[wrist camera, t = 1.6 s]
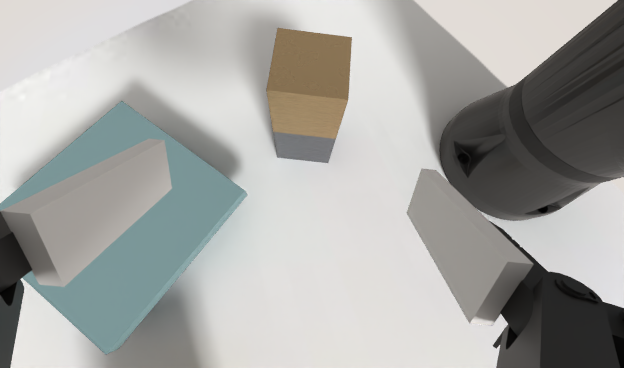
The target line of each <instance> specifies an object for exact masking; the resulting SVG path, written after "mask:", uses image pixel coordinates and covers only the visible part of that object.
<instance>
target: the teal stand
mask: <svg viewBox="0 0 624 368" xmlns="http://www.w3.org/2000/svg"><path fill="white" fill-rule="evenodd" d="M147 139H158V140H165V147H166V153H167V159H168V166H169V172H170V178H171V185H172V189H171V190H170V191H169V192H168V193H167V194H166V195H165V196H163V197H162V198H161V199H160V200H159V201H158V202H157V203H156V204H155V205H154V206H153V207H151V208H150V209H149V210H148V211H147V212H146V213H145V214H144V215H143V216H142V217H140V218H139V219H138V220H137V221H136V222H135V223H134V224H133V225H132V226H131V227H129V228H128V229H127V230H126V231H125V232H124V233H123V234H122V235H121V236H120V237H118V238H117V239H116V240H115V241H114V242H113V243H112V244H111V245H110V246H109V247H107V248H106V249H105V250H104V251H103V252H102V253H101V254H100V255H99V256H98V257H96V258H95V259H94V260H93V261H92V262H91V263H90V264H89V265H88V266H87V267H85V268H84V269H83V270H82V271H81V272H80V273H79V274H78V275H77V276H76V277H74V278H73V279H72V280H71V281H70V282H69V283H68V284H67V285H66V286H65V287H60V286H49V285H39V283H38V282H37V280H36V278H35V276H34V274H33V272H32V271H30V272H29V273H28V274H26V275H25V276H24V277H22V278H23V279H24V280H25V281H26V282H28V283H29V284H30V285H31V286H32V287H33V288H34V289H35V290H36V291H37V292H38V293H40V294H41V295H42V296H43V297H44V298H45V299H46V300H47V301H48V302H49V303H50V304H51V305H53V306H54V307H55V308H56V309H57V310H58V311H59V312H60V313H61V314H62V315H63V316H64V317H66V318H67V319H68V320H69V321H70V322H71V323H72V324H73V325H74V326H75V327H76V328H77V329H79V330H80V331H81V332H82V333H83V334H84V335H85V336H86V337H87V338H88V339H89V340H91V341H92V342H93V343H94V344H95V345H96V346H97V347H98V348H99V349H100V350H101V351H102V352H104V353H105V354H108V353H110V352H112V351H115V350H117V349H119V348H120V347H121V345H122V344H123V343H124V342H125V341H126V339H127V338H128V337H129V336H130V335H131V333H132V332H133V331H134V330H135V329H136V327H137V326H138V325H139V324H140V323H141V322H142V320H143V319H144V318H145V317H146V316H147V314H148V313H149V312H150V311H151V310H152V308H153V307H154V306H155V305H156V304H157V302H158V301H159V300H160V299H161V298H162V296H163V295H164V294H165V293H166V292H167V290H168V289H169V288H170V287H171V286H172V284H173V283H174V282H175V281H176V280H177V279H178V277H179V276H180V275H181V274H182V273H183V271H184V270H185V269H186V268H187V267H188V265H189V264H190V263H191V262H192V261H193V259H194V258H195V257H196V256H197V255H198V253H199V252H200V251H201V250H202V249H203V247H204V246H205V245H206V244H207V243H208V241H209V240H210V239H211V238H212V237H213V235H214V234H215V233H216V232H217V231H218V230H219V228H220V227H221V226H222V225H223V224H224V222H225V221H226V220H227V219H228V218H229V216H230V215H231V214H232V213H233V212H234V210H235V209H236V208H237V207H238V206H239V204H240V203H241V202H242V201H243V200H244V198H245V197H246V196H247V193H246V192H245V190H243V189H242V188H240V187H239V186H238V185H236V184H235V183H234V182H232V181H231V180H230V179H228V178H227V177H225V176H224V175H223V174H221V173H220V172H219V171H217V170H216V169H214V168H213V167H212V166H210V165H209V164H208V163H206V162H205V161H204V160H202V159H201V158H199V157H198V156H197V155H195V154H194V153H193V152H191V151H190V150H188V149H187V148H186V147H184V146H183V145H182V144H180V143H179V142H177V141H176V140H175V139H173V138H172V137H171V136H169V135H168V134H167V133H165V132H164V131H162V130H161V129H160V128H158V127H157V126H156V125H154V124H153V123H151V122H150V121H149V120H147V119H146V118H145V117H143V116H142V115H141V114H139V113H138V112H136V111H135V110H134V109H132V108H131V107H130V106H128V105H127V104H125V103H124V102H123V101H121V102H120V103H119V104H117V105H116V106H115V107H114V108H113V109H112V110H110V111H109V112H108V113H107V114H106V115H104V116H103V117H102V118H101V119H100V120H99V121H97V122H96V123H95V124H94V125H93V126H91V127H90V128H89V129H88V130H87V131H86V132H84V133H83V134H82V135H81V136H80V137H78V138H77V139H76V140H75V141H74V142H73V143H71V144H70V145H69V146H68V147H67V148H65V149H64V150H63V151H62V152H61V153H60V154H58V155H57V156H56V157H55V158H54V159H52V160H51V161H50V162H49V163H48V164H47V165H45V166H44V167H43V168H42V169H41V170H39V171H38V172H37V173H36V174H35V175H34V176H32V177H31V178H30V179H29V180H28V181H26V182H25V183H24V184H23V185H22V186H21V187H19V188H18V189H17V190H16V191H15V192H13V193H12V194H11V195H10V196H9V197H8V198H6V199H5V200H4V201H3V202H2V203H0V211H1V210H3V209H5V208H7V207H9V206H11V205H13V204H15V203H18V202H20V201H22V200H24V199H26V198H28V197H30V196H32V195H34V194H36V193H38V192H40V191H42V190H44V189H46V188H48V187H50V186H52V185H55V184H57V183H59V182H61V181H63V180H65V179H67V178H69V177H71V176H73V175H75V174H77V173H79V172H81V171H83V170H85V169H87V168H89V167H91V166H94V165H96V164H98V163H100V162H102V161H104V160H106V159H108V158H110V157H112V156H114V155H116V154H118V153H120V152H122V151H124V150H126V149H128V148H130V147H133V146H135V145H137V144H139V143H141V142H143V141H145V140H147Z"/></svg>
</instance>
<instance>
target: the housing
mask: <svg viewBox="0 0 624 368" xmlns="http://www.w3.org/2000/svg"><path fill="white" fill-rule="evenodd" d="M351 41H352V37H345V36H337V35H329V34H321V33H313V32H305V31H297V30H289V29H282V28H278V29H277V34H276V40H275V45H274V51H273V56H272V62H271V68H270V73H269V79H268V84H267V90H266V91H267V97H268V103H269V109H270V115H271V121H272V127H273V133H274V139H275V146H276V152H277V157H278V158H287V159H296V160H305V161H314V162H323V163H328V162H329V158H330V155H331V152H332V149H333V146H334V143H335V140H336V136H337V133H338V130H339V127H340V124H341V121H342V118H343V114H344V111H345V108H346V105H347V102H348V93H349V76H350V58H351Z"/></svg>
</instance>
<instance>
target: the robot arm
mask: <svg viewBox="0 0 624 368" xmlns="http://www.w3.org/2000/svg"><path fill="white" fill-rule="evenodd" d="M440 156H441V162H442V165H443V168H444V171H445V173H446V176H447V178H448V179H449V181H450V183H451V184H452V185H451V184H450V183H449V182H448V181H447V180H446V179H445V178H444V177H442V176H441V175H440V174H439V173H438V172H437V171H436V170H429V169H421V172H420V175H419V178H418V181H417V184H416V187H415V190H414V193H413V196H412V199H411V202H410V205H409V208H408V211H407V215H408V216H409V218H410V220H411V222H412V223H413V225H414V227H415V229H416V230H417V232H418V234H419V236H420V237H421V239H422V241H423V243H424V244H425V246H426V248H427V250H428V251H429V253H430V255H431V257H432V258H433V260H434V262H435V264H436V265H437V267H438V269H439V271H440V272H441V274H442V276H443V278H444V279H445V281H446V283H447V285H448V287H449V288H450V290H451V292H452V294H453V295H454V297H455V299H456V301H457V302H458V304H459V306H460V308H461V309H462V311H463V313H464V315H465V316H466V318H467V320H468V322H469V323H470V324H477V325H488V326H492V325H493V324H494V322H495V321H496V319H497V318H498V317H499V315H500V314H502V316H503V317H504V319H505V320H506V321H507V323H508V325H507V326H506V328H505V329H504V331H503V332H502V333H501V335H500V336H499V338H498V339H497V340H496V342H495V343H494V345H493V347H495V348H497V347H498V346H499V345H500V351H499V356H498V361H497V367H496V368H624V308H621V307H618V306H615V305H612V304H608V303H605V302H602V300H601V298H600V297H599V296H598V295H597V294H596V293H595V292H594V291H593V290H591V289H590V288H588V287H587V286H585V285H584V284H582V283H581V282H579V281H577V280H575V279H573V278H571V277H568V276H566V275H563V274H560V273H555V272H548V271H547V270H546V269H545V268H544V267H542V266H541V265H540V264H539V263H538V262H537V261H536V260H535V259H534V258H533V257H532V256H531V255H530V254H529V253H527V252H526V251H525V250H524V249H523V248H522V247H520V245H519V244H518V243H517V242H516V241H515V240H512V238H511V237H510V236H509V235H508V234H507V233H506V232H505V231H504V230H503V229H501V228H500V227H498V226H497V225H495V224H493V223H492V222H490V221H488V220H487V219H486V218H485V217H484V216H483V215H482V214H481V213H480V212H479V211H478V210H480V211H482V212H484V213H486V214H488V215H490V216H493V217H496V218H500V219H504V220H513V221H518V220H526V219H531V218H536V217H541V216H545V215H548V214H551V213H553V212H555V211H557V210H559V209H561V208H562V207H564V206H565V205H567V204H569V203H570V202H572V201H573V200H575V199H576V198H578V197H580V196H581V195H583V194H584V193H586V192H587V191H589V190H591V189H592V188H594V187H595V186H597V185H598V184H600V183H603V182H606V181H610V180H613V179H617V178H621V177H624V0H618V1H617V2H616V3H614V4H613V5H612V6H611V7H609V8H608V9H607V10H606V11H605V12H603V13H602V14H601V15H600V16H599V17H597V18H596V19H595V20H594V21H593V22H591V23H590V24H589V25H588V26H587V27H585V28H584V29H583V30H582V31H580V32H579V33H578V34H577V35H576V36H574V37H573V38H572V39H571V40H570V41H568V42H567V43H566V44H565V45H564V46H562V47H561V48H560V49H559V50H557V51H556V52H555V53H554V54H553V55H551V56H550V57H549V58H548V59H547V60H546V61H544V62H543V63H542V64H541V65H539V66H538V67H537V68H536V69H534V70H533V71H532V72H531V73H530V74H529V75H527V76H526V77H525V78H524V79H522V80H521V81H520V82H519V83H517V84H516V85H514V86H511V87H509V88H506V89H504V90H502V91H499V92H497V93H494V94H492V95H490V96H487V97H485V98H483V99H480V100H478V101H476V102H473V103H472V104H470V105H468V106H467V107H465V108H464V109H463V110H462V111H461V112H459V113H458V114H457V115H456V116H455V117H454V118H453V119H452V120H451V121H450V122H449V123H448V125H447V126H446V128H445V130H444V132H443V134H442V138H441V143H440ZM171 189H172V185H171V178H170V172H169V166H168V159H167V153H166V147H165V140H158V139H147V140H145V141H143V142H141V143H139V144H137V145H135V146H133V147H130V148H128V149H126V150H124V151H122V152H120V153H118V154H116V155H114V156H112V157H110V158H108V159H106V160H104V161H102V162H100V163H98V164H96V165H94V166H91V167H89V168H87V169H85V170H83V171H81V172H79V173H77V174H75V175H73V176H71V177H69V178H67V179H65V180H63V181H61V182H59V183H57V184H55V185H52V186H50V187H48V188H46V189H44V190H42V191H40V192H38V193H36V194H34V195H32V196H30V197H28V198H26V199H24V200H22V201H20V202H18V203H15V204H13V205H11V206H9V207H7V208H5V209H3V210H1V211H0V368H10V365H11V360H12V354H13V349H14V343H15V338H16V332H17V326H18V321H19V315H20V310H21V304H22V299H23V293H24V286H23V283H22V281H21V280H20V279H21V278H22V277H24V276H25V275H26V274H28V273H29V272H30V271H32V272H33V274H34V276H35V278H36V280H37V282H38V283H39V285H49V286H60V287H65V286H66V285H67V284H68V283H69V282H70V281H71V280H72V279H73V278H74V277H76V276H77V275H78V274H79V273H80V272H81V271H82V270H83V269H84V268H85V267H87V266H88V265H89V264H90V263H91V262H92V261H93V260H94V259H95V258H96V257H98V256H99V255H100V254H101V253H102V252H103V251H104V250H105V249H106V248H107V247H109V246H110V245H111V244H112V243H113V242H114V241H115V240H116V239H117V238H118V237H120V236H121V235H122V234H123V233H124V232H125V231H126V230H127V229H128V228H129V227H131V226H132V225H133V224H134V223H135V222H136V221H137V220H138V219H139V218H140V217H142V216H143V215H144V214H145V213H146V212H147V211H148V210H149V209H150V208H151V207H153V206H154V205H155V204H156V203H157V202H158V201H159V200H160V199H161V198H162V197H163V196H165V195H166V194H167V193H168V192H169V191H170V190H171ZM476 208H477V209H478V210H477V209H476Z"/></svg>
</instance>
